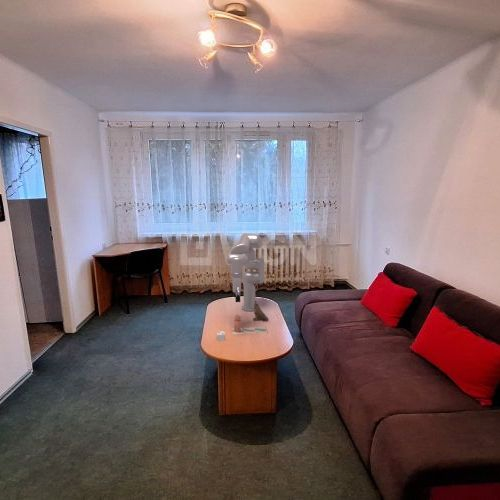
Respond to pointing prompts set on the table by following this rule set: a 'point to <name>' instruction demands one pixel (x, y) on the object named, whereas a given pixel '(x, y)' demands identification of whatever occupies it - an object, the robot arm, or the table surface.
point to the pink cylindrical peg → (237, 324)
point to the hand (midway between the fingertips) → (237, 299)
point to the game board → (251, 330)
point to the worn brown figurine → (259, 314)
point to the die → (221, 336)
